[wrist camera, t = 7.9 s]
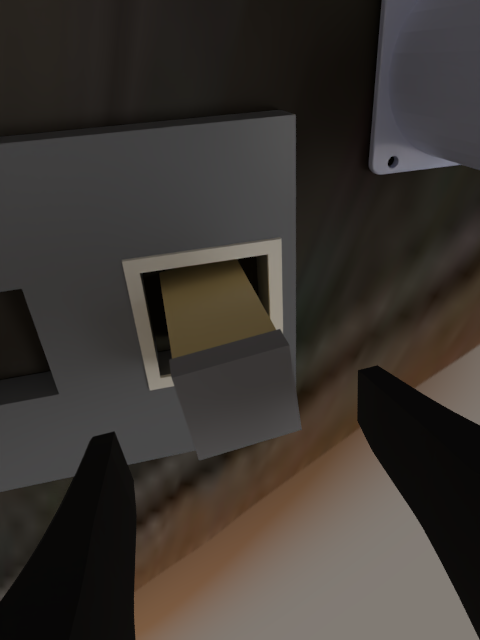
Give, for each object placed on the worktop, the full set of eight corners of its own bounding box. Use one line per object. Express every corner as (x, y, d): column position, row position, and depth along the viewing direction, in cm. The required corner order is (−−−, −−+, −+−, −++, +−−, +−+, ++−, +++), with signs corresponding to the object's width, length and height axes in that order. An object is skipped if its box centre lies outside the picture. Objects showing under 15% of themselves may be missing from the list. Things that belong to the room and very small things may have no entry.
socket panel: (280, 109, 18) (297, 115, 16) (284, 405, 27) (297, 431, 25) (-218, 157, 16) (-264, 171, 14) (-40, 471, 24) (-54, 506, 22)
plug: (235, 251, 21) (289, 344, 14) (248, 318, 23) (301, 429, 16) (156, 271, 21) (171, 377, 14) (176, 337, 23) (199, 460, 16)
